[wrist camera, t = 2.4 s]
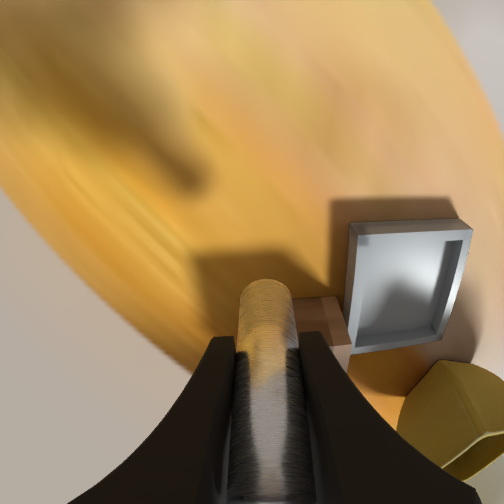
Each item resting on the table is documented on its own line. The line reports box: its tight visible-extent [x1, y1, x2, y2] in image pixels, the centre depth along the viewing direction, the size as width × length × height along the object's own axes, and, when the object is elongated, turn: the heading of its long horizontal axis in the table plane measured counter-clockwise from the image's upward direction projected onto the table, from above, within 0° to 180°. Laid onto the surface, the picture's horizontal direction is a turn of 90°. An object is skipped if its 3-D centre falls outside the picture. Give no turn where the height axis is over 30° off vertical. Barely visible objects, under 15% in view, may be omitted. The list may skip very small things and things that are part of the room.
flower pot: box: [396, 360, 504, 482], centre depth 18 cm, size 9×9×9 cm
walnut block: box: [292, 296, 352, 373], centre depth 17 cm, size 5×5×4 cm
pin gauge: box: [226, 279, 317, 504], centre depth 9 cm, size 2×2×8 cm
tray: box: [342, 218, 473, 355], centre depth 17 cm, size 8×7×2 cm
